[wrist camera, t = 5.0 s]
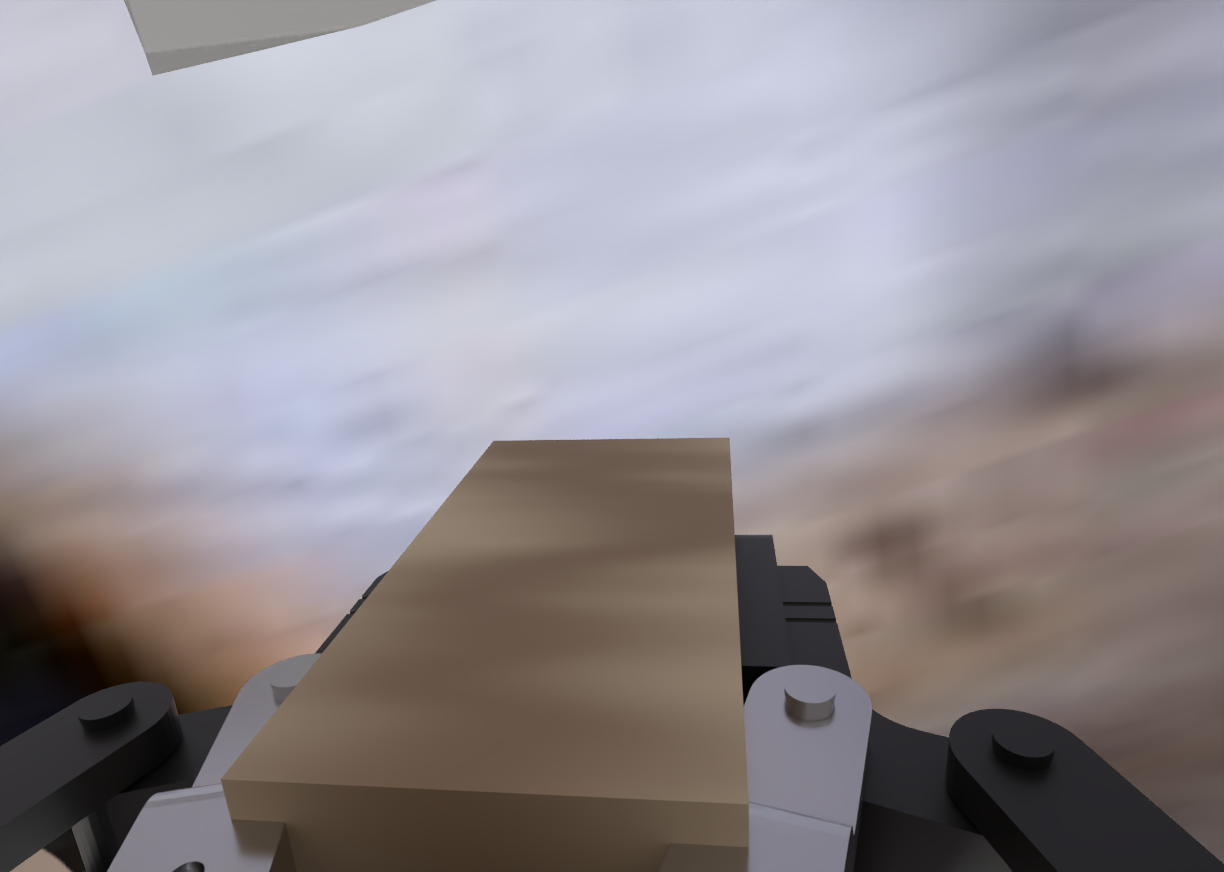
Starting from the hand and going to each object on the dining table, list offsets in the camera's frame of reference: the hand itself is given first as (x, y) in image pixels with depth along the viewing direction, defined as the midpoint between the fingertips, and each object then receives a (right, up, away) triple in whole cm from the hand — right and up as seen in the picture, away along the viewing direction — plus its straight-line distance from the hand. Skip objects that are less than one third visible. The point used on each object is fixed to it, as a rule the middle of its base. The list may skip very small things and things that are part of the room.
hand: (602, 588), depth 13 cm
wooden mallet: (0, -4, +3) cm, 5 cm away
